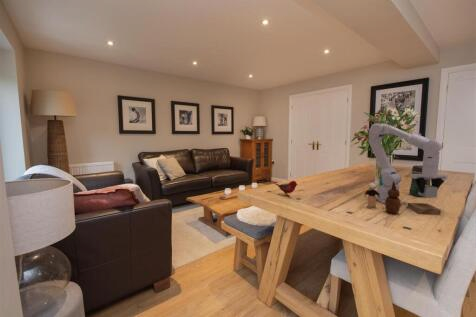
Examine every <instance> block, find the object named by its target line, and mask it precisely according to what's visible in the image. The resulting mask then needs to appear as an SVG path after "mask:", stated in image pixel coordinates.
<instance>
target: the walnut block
mask: <svg viewBox="0 0 476 317" xmlns="http://www.w3.org/2000/svg"><path fill="white" fill-rule="evenodd" d="M406 208H407V209H409V210H411V211H412V212H415V213H417V214H418V215H431V216H432V215H433V216H434V215H435V216H436V215H437V216H441V213H442V212H441V211H442V209H441V208H438V207H436V206H433V205H432V204H428V203H424V202H407V205H406Z"/></svg>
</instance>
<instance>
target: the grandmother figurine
mask: <svg viewBox="0 0 476 317" xmlns="http://www.w3.org/2000/svg"><path fill="white" fill-rule="evenodd" d="M376 188H377V185H376V184H375V183H374V182H371V183H368V189H369V190H366V191H365V192H364V194H363V198H366V197H367V205H366V208H368V209H377V199H376V198H377V196H378V198H380V195H379V193H378V192H377V189H376ZM375 189H376V190H375Z"/></svg>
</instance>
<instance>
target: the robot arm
mask: <svg viewBox="0 0 476 317" xmlns="http://www.w3.org/2000/svg"><path fill="white" fill-rule="evenodd" d="M387 134H388V135H393V136H396V137H399V138H401V139H404V140H406V141H407V144H408V145H410V146H414V147H415V148H418V149H420V150H423V152H424V155H423V160H422V161H423V162H422V166H423V168H422V174H412V173H411V179H412V178H414V179H415V181H416V183H417V185H418V188H419V192H420V193H424V188H425V184H426V182H427V180H425V179H430V184H431V185H432V186H435V187H438V190H439V188H440V187H441V185H442V184H444V182H445V180H448V175H446V174H439V164H440V151H441V150H442V148H443V145H442V143H440V142H439V141H438V140H433V138H430V137H429V138H427V137H425V136H422V133H409V132H407V131H404V130H403V129H399V128H397V127H396V126H392V125H389V124H386V123H373V124H372V125H371V126H370V128H369V129H368V145H369V146H370V148H371V150H372V153H373V155H374V157H375V159H376V161H377V164H378V166H379V168H380V172H381V176H382V183H383V185H382V186H379V185H378V186H377V187H376V188H377V189H376V191H377V192H378V193H379V195H380V198H378V196H377V195H376V201H377V200H378V201H379V202H380V203H383V204H385V202H386V198H387V197H389V196H388V190H389V189H392V183H393V181H394V182H395V187H396V190H399V191H400V185H399V184H400V182H402V177H401V175H400V174H399V173H397V171H396V169H395V168H394V167H393V166H392V164H391V162H390V159H389V158H388V156H387V154H386V151H385V149H384V147H383V145H382V143H381V142H382V139H383V138H384V137H385V136H386V135H387ZM430 177H431V178H430ZM400 205H402V202H401V201H400Z"/></svg>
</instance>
